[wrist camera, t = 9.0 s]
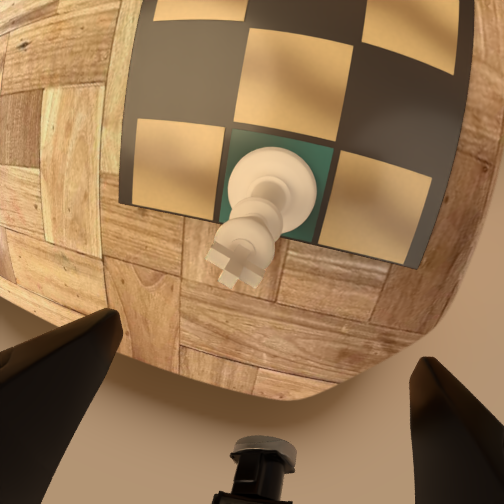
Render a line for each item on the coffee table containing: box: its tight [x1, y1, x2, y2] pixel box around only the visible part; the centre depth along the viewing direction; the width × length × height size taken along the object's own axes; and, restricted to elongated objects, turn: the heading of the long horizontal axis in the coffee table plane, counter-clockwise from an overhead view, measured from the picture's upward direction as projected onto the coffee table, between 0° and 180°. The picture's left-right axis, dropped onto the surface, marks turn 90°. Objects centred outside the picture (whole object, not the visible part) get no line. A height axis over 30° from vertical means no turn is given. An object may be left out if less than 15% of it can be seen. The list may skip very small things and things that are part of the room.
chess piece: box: [205, 147, 317, 289], centre depth 13 cm, size 5×5×10 cm
